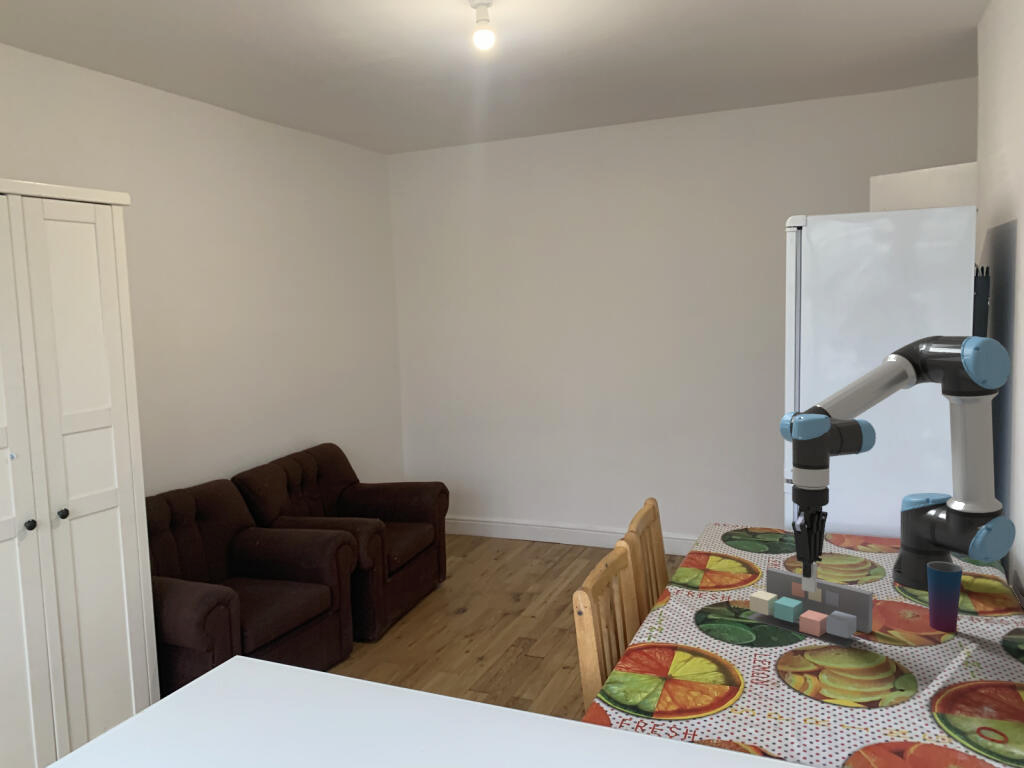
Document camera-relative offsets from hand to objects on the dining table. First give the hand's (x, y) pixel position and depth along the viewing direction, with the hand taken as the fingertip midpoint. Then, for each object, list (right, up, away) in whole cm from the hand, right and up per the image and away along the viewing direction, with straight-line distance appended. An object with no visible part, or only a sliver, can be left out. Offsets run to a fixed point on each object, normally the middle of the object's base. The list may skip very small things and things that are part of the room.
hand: (809, 590), depth 168 cm
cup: (+30, -10, +1) cm, 32 cm away
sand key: (-7, -7, +9) cm, 13 cm away
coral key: (+1, -9, 0) cm, 9 cm away
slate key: (+5, -8, -4) cm, 10 cm away
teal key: (-3, -7, +4) cm, 9 cm away
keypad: (0, -10, +3) cm, 11 cm away
